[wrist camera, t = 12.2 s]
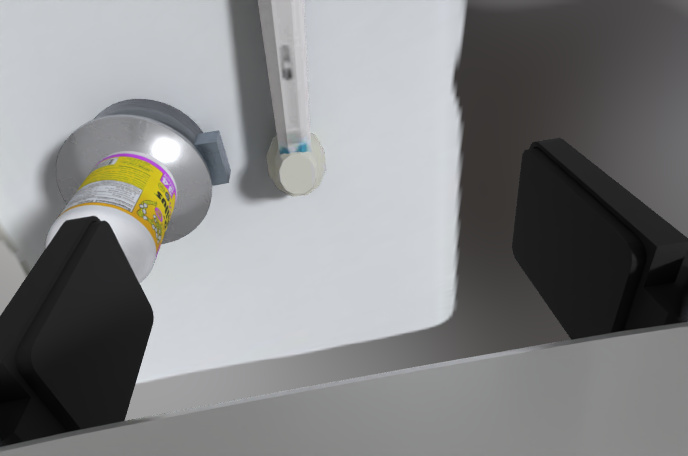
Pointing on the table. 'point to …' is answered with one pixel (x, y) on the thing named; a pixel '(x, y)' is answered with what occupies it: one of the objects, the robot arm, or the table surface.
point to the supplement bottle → (127, 205)
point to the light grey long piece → (290, 99)
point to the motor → (156, 141)
